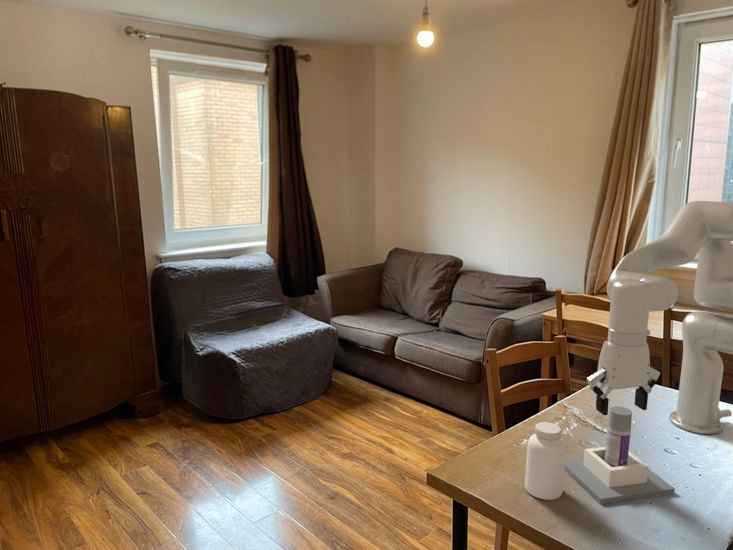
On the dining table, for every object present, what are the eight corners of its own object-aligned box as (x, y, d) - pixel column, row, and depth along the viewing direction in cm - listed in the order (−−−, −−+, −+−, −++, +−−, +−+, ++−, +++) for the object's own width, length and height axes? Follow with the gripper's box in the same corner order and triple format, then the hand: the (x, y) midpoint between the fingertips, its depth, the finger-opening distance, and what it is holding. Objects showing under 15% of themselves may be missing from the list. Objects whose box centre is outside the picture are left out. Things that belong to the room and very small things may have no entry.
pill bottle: (558, 505, 114) (563, 439, 111) (520, 493, 118) (523, 429, 115) (566, 487, 121) (571, 424, 118) (530, 476, 125) (534, 415, 122)
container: (621, 467, 126) (628, 406, 123) (629, 478, 121) (635, 415, 118) (600, 465, 126) (606, 405, 124) (607, 477, 122) (613, 414, 119)
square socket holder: (625, 456, 133) (627, 436, 132) (674, 493, 118) (676, 471, 117) (558, 464, 130) (560, 444, 129) (600, 504, 115) (601, 481, 114)
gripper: (649, 328, 123) (643, 398, 126) (580, 335, 120) (576, 407, 123) (674, 338, 116) (667, 413, 119) (601, 346, 112) (596, 422, 116)
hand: (621, 410), depth 121 cm, fingers open, 9 cm apart
